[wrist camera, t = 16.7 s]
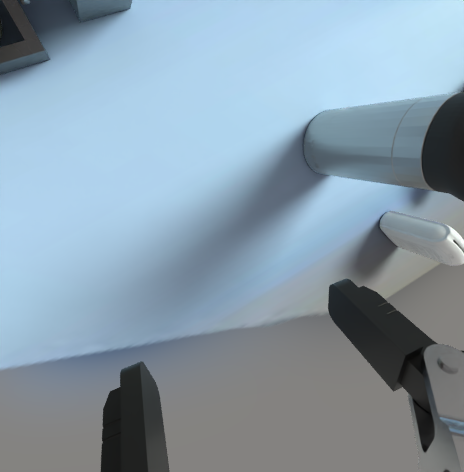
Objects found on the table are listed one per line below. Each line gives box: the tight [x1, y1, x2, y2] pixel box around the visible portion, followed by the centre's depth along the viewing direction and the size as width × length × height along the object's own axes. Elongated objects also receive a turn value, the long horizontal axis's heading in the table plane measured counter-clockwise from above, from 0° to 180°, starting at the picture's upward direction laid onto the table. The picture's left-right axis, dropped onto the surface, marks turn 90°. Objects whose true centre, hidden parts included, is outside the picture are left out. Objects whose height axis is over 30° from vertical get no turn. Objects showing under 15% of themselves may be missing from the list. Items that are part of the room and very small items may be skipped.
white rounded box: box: [380, 211, 464, 266], centre depth 49 cm, size 10×4×12 cm, turn 53°
